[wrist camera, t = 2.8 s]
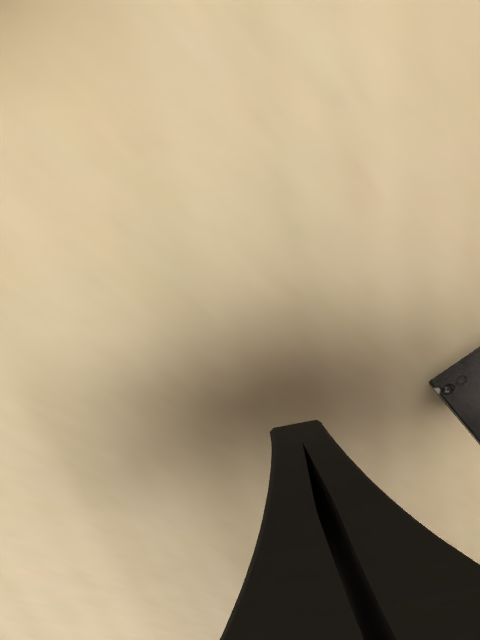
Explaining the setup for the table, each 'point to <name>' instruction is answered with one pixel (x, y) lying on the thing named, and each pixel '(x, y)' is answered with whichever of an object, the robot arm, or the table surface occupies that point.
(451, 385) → the mini dv tape
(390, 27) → the table surface
